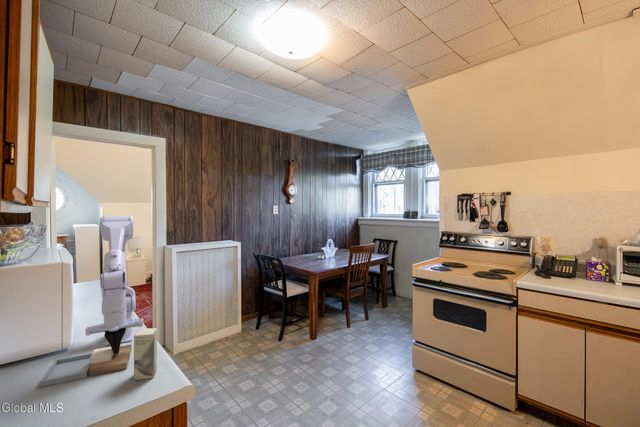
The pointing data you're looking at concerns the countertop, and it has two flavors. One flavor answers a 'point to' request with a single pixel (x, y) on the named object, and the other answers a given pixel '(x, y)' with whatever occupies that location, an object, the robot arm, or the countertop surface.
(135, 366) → the box
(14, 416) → the countertop surface
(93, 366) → the plate
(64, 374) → the tray
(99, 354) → the tile
